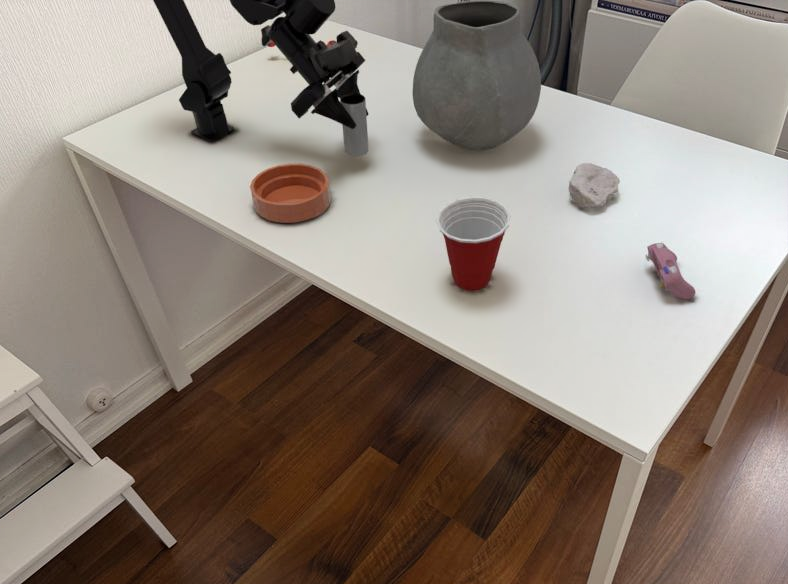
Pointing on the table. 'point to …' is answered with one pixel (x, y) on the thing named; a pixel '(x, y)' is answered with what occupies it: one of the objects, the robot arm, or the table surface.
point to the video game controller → (669, 271)
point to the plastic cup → (473, 238)
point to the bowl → (290, 193)
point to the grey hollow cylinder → (358, 136)
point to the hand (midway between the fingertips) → (360, 121)
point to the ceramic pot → (476, 75)
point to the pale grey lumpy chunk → (592, 185)
